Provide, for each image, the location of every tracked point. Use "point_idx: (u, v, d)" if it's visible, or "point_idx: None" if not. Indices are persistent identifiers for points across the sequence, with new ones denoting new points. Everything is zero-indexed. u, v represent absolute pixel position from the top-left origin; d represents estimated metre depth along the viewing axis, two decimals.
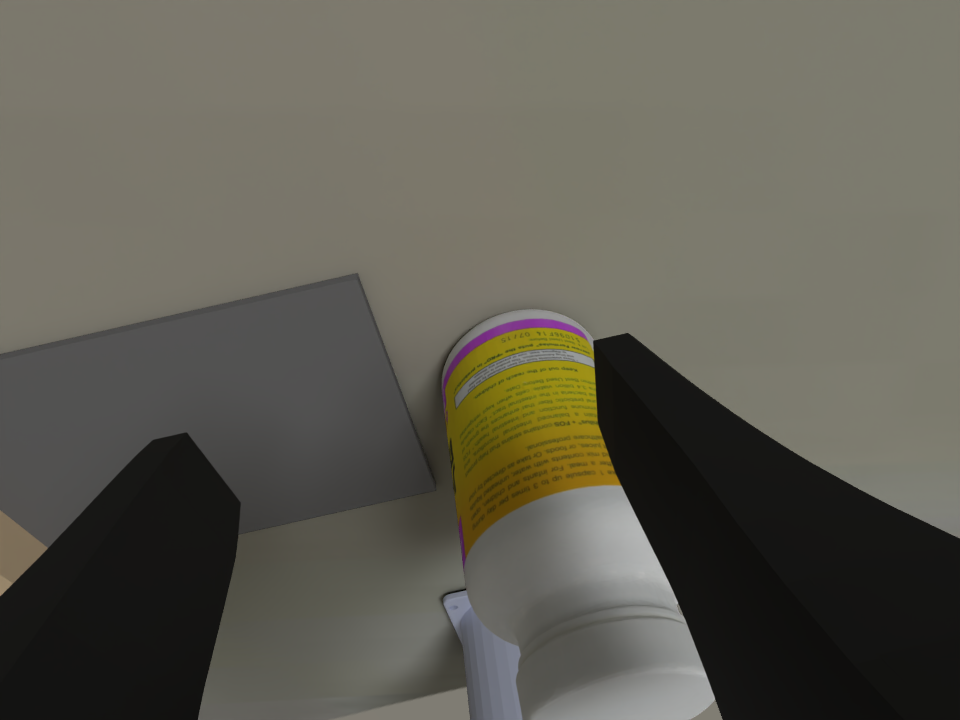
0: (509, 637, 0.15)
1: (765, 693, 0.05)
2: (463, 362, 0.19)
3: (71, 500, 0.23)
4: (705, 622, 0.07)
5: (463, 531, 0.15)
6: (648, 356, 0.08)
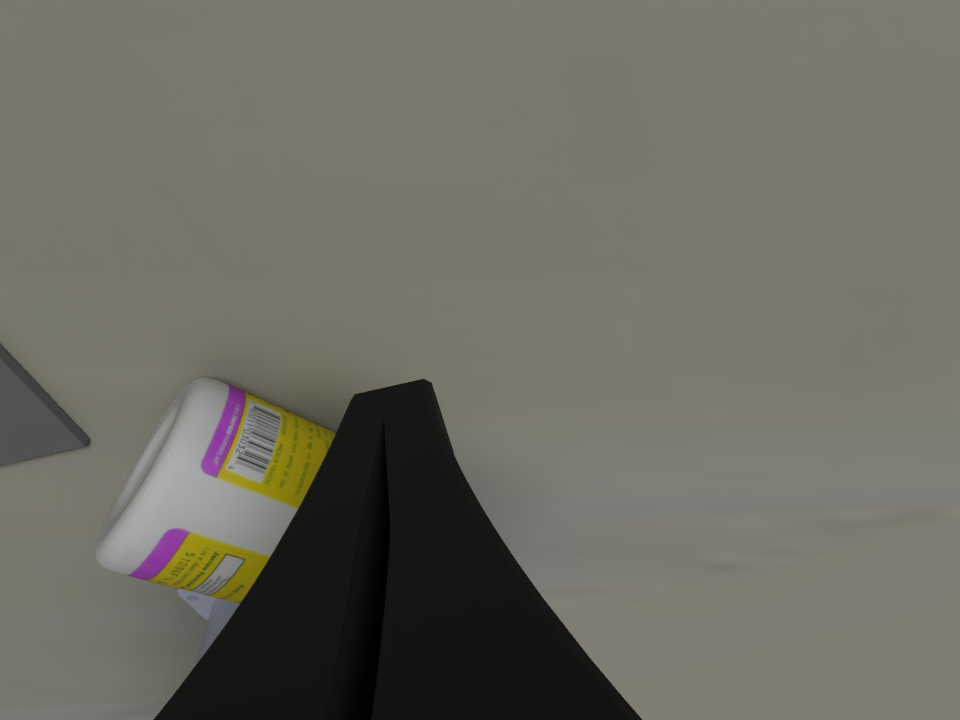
0: None
1: None
2: None
3: None
4: None
5: None
6: (421, 407, 0.08)
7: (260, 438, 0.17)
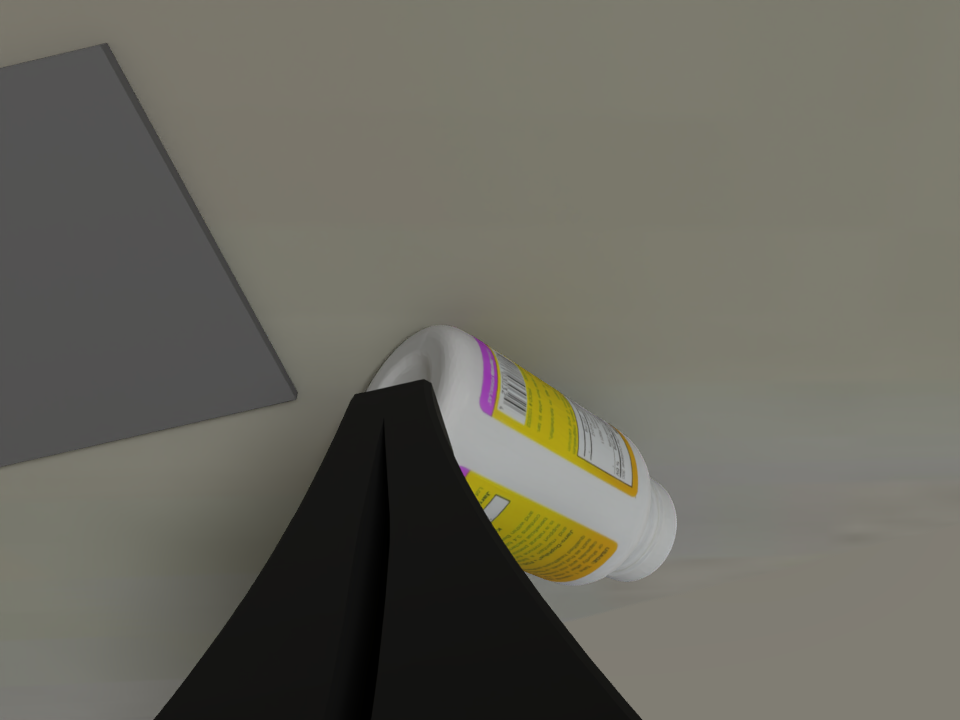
0: None
1: None
2: None
3: None
4: None
5: None
6: (421, 407, 0.08)
7: (514, 382, 0.17)
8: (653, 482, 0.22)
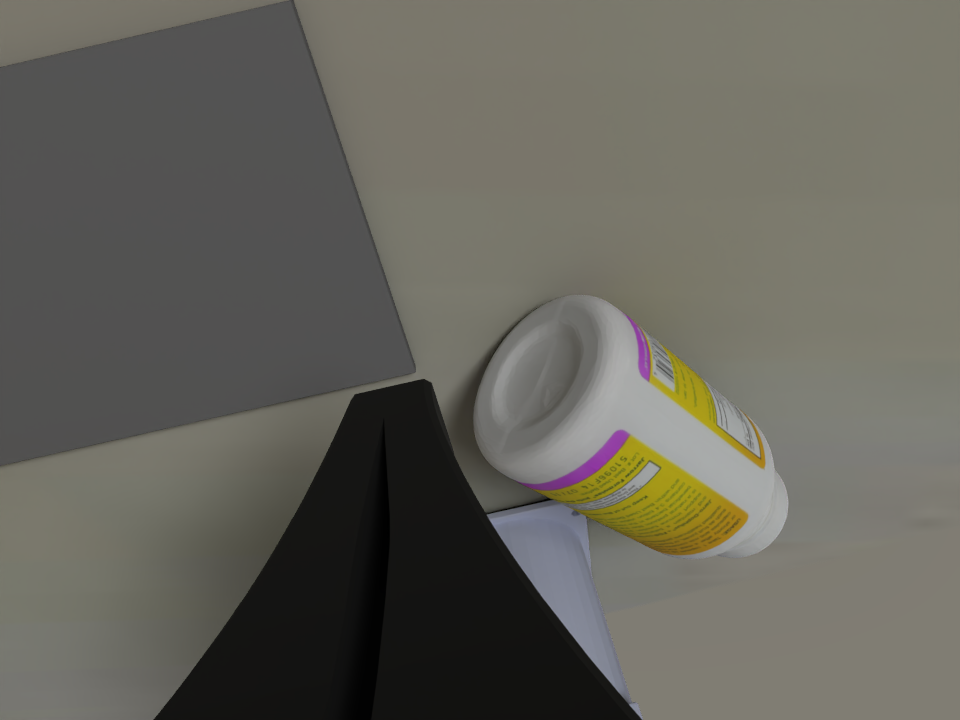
0: None
1: None
2: None
3: None
4: None
5: None
6: (421, 407, 0.08)
7: (659, 349, 0.17)
8: None
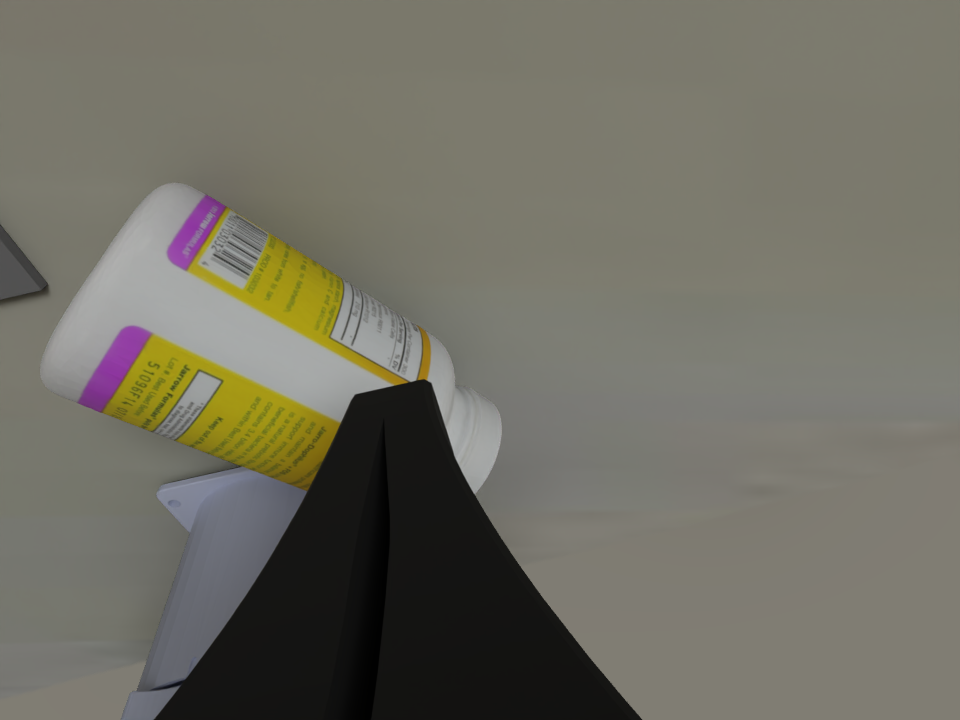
0: None
1: None
2: None
3: None
4: None
5: None
6: (421, 407, 0.08)
7: (242, 243, 0.14)
8: (478, 398, 0.20)
